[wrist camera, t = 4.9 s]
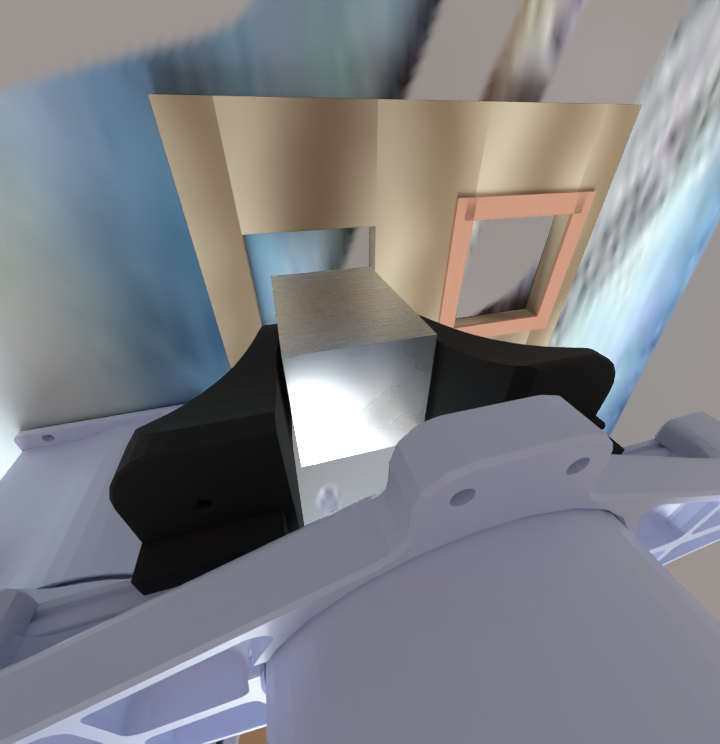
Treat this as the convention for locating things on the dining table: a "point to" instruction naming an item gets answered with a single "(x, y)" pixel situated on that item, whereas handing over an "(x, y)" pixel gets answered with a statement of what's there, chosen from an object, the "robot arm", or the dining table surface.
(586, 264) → the dining table surface
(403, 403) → the steel peg
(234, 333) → the rail
